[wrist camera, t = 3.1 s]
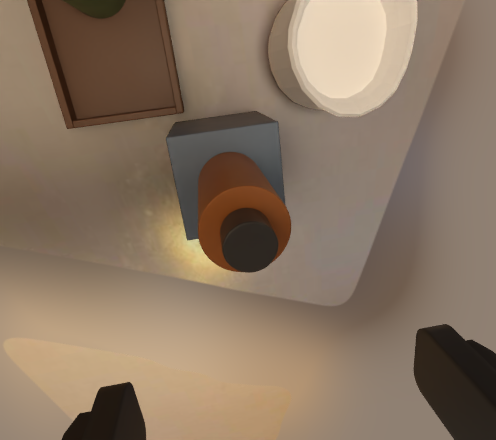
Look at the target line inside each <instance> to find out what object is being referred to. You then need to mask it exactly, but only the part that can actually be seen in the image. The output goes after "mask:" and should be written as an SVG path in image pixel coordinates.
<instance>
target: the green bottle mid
mask: <svg viewBox="0 0 496 440" xmlns="http://www.w3.org/2000/svg"><path fill="white" fill-rule="evenodd" d="M63 1H64V2H66V3H68V4H69V5H71V6H73V7H74V8H76V9H78V10H79V11H81V12H83V13H84V14H86V15H88V16H91V17H94V18H100V19H102V18H109V17H111V16H113V15H115V14H116V13H118V12H119V11H120V10H121V8H122V7H123V5H124V3H125V0H63Z"/></svg>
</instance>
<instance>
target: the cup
mask: <svg viewBox="0 0 496 440" xmlns="http://www.w3.org/2000/svg"><path fill="white" fill-rule="evenodd" d="M416 27H417V0H288V1H287V2H286V3H285V4H284V5H283V6H282V8H281V10H280V11H279V13H278V15H277V16H276V18H275V20H274V24H273V27H272V30H271V34H270V37H269V44H268V56H269V61H270V67H271V71H272V73H273V76H274V78H275V80H276V82H277V85H278V87H279V88H280V89H281V90H282V91H283V92H284V93H285V94H286V95H287V96H288V97H289V98H290V99H291V100H292V101H293V102H295V103H297V104H299V105H302V106H304V107H307V108H310V109H314V110H325V111H327V112H329V113H331V114H333V115H335V116H337V117H360V116H362V115H364V114H366V113H369V112H371V111H373V110H375V109H377V108H379V107H381V106H382V105H383V104H384V103H385V102H386V101H387V100H388V99H389V98H390V97H391V96H392V95H393V94H394V93H395V92H396V90H397V88H398V86H399V84H400V82H401V80H402V78H403V76H404V74H405V71H406V69H407V66H408V63H409V59H410V55H411V52H412V48H413V43H414V37H415V32H416Z"/></svg>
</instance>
